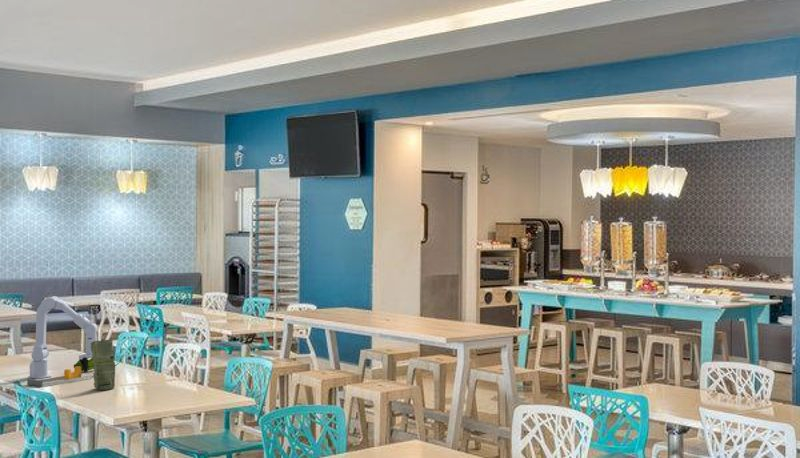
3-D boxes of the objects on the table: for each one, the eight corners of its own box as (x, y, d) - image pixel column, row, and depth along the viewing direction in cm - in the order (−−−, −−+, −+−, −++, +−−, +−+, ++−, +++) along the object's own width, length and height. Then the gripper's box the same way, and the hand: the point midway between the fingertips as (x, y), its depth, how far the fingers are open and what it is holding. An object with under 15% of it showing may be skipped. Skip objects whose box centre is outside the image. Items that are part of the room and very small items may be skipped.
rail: (27, 384, 473) (27, 379, 473) (78, 376, 498) (78, 370, 498) (40, 387, 466) (40, 381, 466) (91, 378, 491) (91, 372, 490)
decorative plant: (129, 371, 515) (129, 344, 515) (72, 373, 507) (72, 347, 507) (129, 366, 533) (129, 340, 532) (75, 368, 525) (74, 342, 524)
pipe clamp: (73, 378, 493) (73, 366, 493) (81, 378, 492) (81, 366, 492) (61, 382, 481) (61, 369, 481) (68, 382, 481) (68, 370, 481)
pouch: (91, 391, 453) (90, 340, 453) (92, 387, 464) (91, 337, 464) (115, 390, 456) (114, 339, 456) (115, 386, 467) (114, 336, 467)
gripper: (84, 347, 489) (84, 373, 489) (107, 344, 501) (107, 369, 501) (76, 347, 493) (76, 372, 493) (99, 343, 505) (99, 368, 505)
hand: (91, 371), depth 497 cm, fingers open, 7 cm apart
